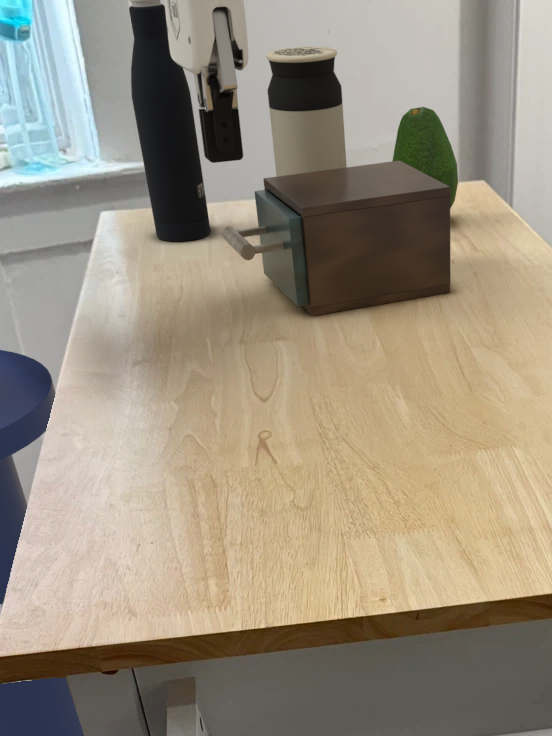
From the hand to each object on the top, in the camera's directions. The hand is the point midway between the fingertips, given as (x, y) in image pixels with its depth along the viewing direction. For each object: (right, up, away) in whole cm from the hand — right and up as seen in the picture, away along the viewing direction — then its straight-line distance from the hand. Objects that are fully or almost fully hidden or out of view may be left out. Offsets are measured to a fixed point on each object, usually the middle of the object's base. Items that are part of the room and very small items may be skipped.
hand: (224, 159), depth 92 cm
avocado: (+19, +8, +29) cm, 35 cm away
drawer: (+8, -7, +10) cm, 15 cm away
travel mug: (+6, +6, +27) cm, 28 cm away
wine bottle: (-10, +7, +29) cm, 31 cm away
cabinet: (+12, -6, +12) cm, 18 cm away
